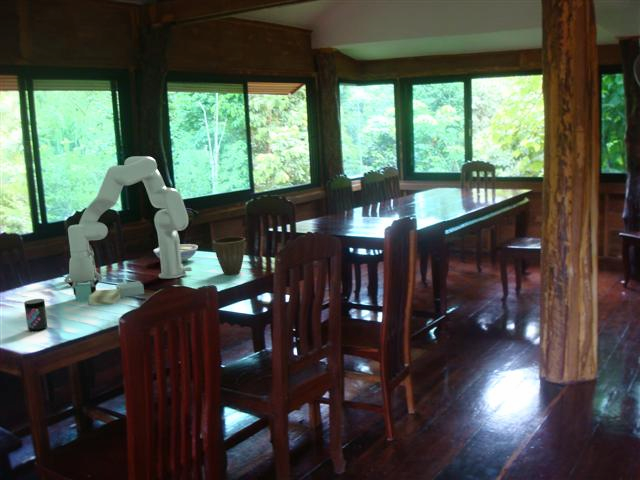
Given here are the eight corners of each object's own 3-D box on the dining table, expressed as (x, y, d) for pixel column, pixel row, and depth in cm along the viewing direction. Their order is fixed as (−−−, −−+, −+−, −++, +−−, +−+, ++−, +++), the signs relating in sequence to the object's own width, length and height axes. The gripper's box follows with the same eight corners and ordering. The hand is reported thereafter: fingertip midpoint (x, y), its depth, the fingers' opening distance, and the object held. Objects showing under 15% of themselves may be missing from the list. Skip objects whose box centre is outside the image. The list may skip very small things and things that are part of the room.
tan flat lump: (120, 298, 286) (119, 288, 285) (114, 304, 276) (113, 294, 275) (96, 299, 286) (95, 290, 285) (89, 306, 276) (88, 296, 275)
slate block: (140, 289, 299) (139, 280, 298) (144, 294, 290) (143, 285, 289) (117, 293, 295) (116, 284, 294) (120, 298, 286) (118, 288, 285)
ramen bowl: (194, 265, 343) (192, 249, 341) (149, 268, 343) (147, 252, 342) (203, 256, 367) (202, 241, 366) (161, 258, 368) (159, 243, 366)
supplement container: (25, 329, 246) (21, 301, 244) (44, 325, 250) (40, 297, 248) (31, 333, 241) (27, 304, 239) (50, 328, 245) (47, 300, 243)
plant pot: (227, 278, 309) (224, 243, 307) (209, 274, 321) (206, 240, 318) (254, 272, 319) (251, 238, 316) (235, 268, 330) (233, 235, 327)
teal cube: (94, 296, 291) (93, 282, 290) (91, 299, 285) (89, 285, 284) (80, 297, 291) (78, 283, 290) (76, 300, 285) (74, 286, 284)
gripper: (103, 251, 289) (108, 292, 292) (61, 254, 288) (67, 295, 291) (99, 254, 282) (104, 296, 285) (56, 257, 281) (62, 300, 284)
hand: (85, 295), depth 288 cm, fingers open, 6 cm apart
